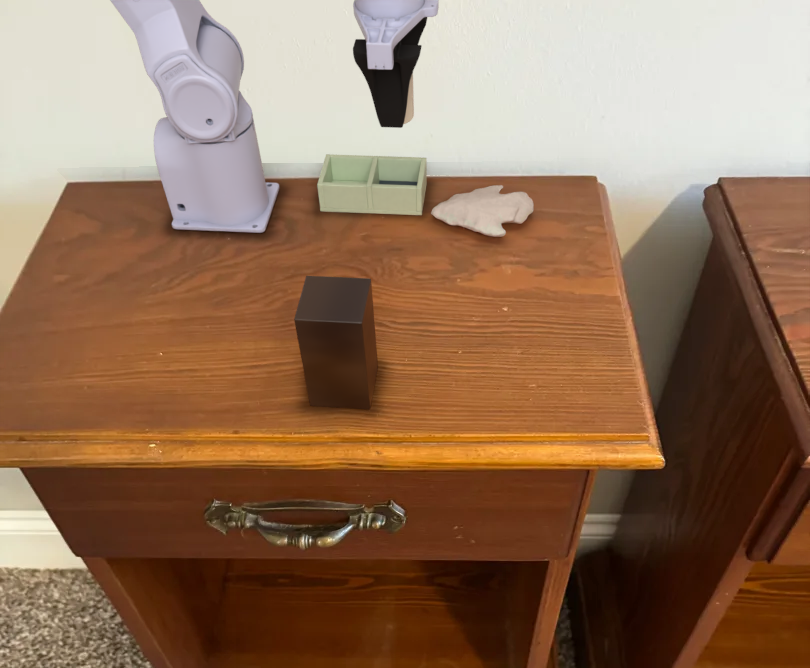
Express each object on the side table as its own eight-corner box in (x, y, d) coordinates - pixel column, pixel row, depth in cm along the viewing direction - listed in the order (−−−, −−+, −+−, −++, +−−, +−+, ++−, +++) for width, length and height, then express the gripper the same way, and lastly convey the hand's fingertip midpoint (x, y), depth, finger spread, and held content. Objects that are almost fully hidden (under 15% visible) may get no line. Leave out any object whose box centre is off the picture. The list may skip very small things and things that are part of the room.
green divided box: (320, 211, 78) (316, 184, 76) (329, 180, 81) (325, 154, 79) (421, 215, 77) (421, 188, 75) (426, 184, 80) (426, 157, 78)
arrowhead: (530, 199, 79) (432, 192, 79) (534, 175, 77) (434, 168, 77) (531, 249, 75) (428, 241, 75) (536, 226, 72) (429, 218, 73)
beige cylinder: (375, 125, 71) (372, 84, 68) (379, 106, 73) (377, 65, 70) (411, 126, 71) (410, 85, 68) (415, 107, 73) (414, 66, 70)
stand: (310, 406, 63) (293, 319, 56) (320, 363, 66) (306, 275, 59) (370, 409, 63) (362, 322, 55) (378, 366, 66) (371, 278, 58)
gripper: (429, -22, 56) (430, 159, 67) (445, -97, 64) (443, 75, 75) (333, -23, 57) (350, 156, 68) (361, -98, 65) (372, 74, 76)
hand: (394, 114), depth 72 cm, fingers closed on beige cylinder, 3 cm apart
